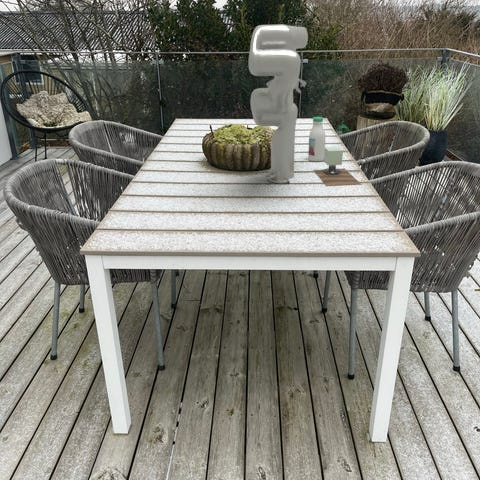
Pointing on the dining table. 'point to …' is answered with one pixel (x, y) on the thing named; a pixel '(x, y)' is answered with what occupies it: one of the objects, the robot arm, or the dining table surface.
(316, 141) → the milk bottle
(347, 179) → the board
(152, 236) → the dining table surface
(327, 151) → the pale green cube
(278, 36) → the robot arm
